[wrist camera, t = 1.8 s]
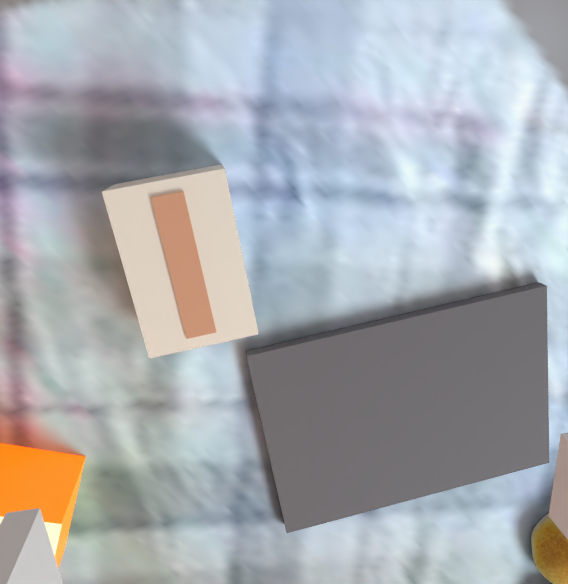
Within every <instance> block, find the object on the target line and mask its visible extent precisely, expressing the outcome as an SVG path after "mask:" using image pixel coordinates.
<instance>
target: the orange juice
mask: <svg viewBox="0 0 568 584" xmlns="http://www.w3.org/2000/svg"><path fill="white" fill-rule="evenodd" d="M85 458H86V456H79V455H73V454H67V453H60V452H54V451H48V450H41V449H35V448H28V447H22V446H16V445H9V444H3V443H0V524H1V522H2V520H3V518H4V516H5V514H6V513H7V512H14V511H22V510H29V509H36V508H40V510H41V513H42V516H43V519H44V523H45V526H46V529H47V533H48V536H49V539H50V543H51V546H52V549H53V553H54V556H55V559H56V563H57V566H58V567H59V564H60V561H61V558H62V555H63V552H64V549H65V545H66V541H67V536H68V532H69V527H70V523H71V519H72V514H73V510H74V506H75V501H76V497H77V493H78V488H79V484H80V479H81V475H82V471H83V466H84V462H85Z"/></svg>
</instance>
